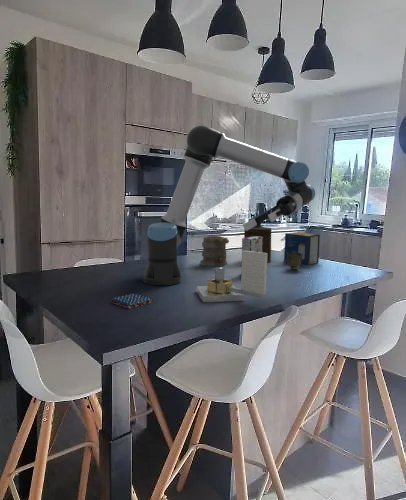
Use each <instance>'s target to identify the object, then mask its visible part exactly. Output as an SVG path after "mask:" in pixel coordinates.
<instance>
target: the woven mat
mask: <svg viewBox="0 0 406 500" xmlns="http://www.w3.org/2000/svg"><path fill="white" fill-rule="evenodd" d="M109 302H110V303H111V304H115V305H117V306H120V307H122V308H126V309H128V310H129V309H133V308H137V307H140V305H141V306H145V305H148V304H153V303H154V299H153V298H151V297H148V296H145V295H142V294H139V293H136V292H134V293H130V294H125V295H122V296H117V297H112V298H111V299H110V300H109Z"/></svg>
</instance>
